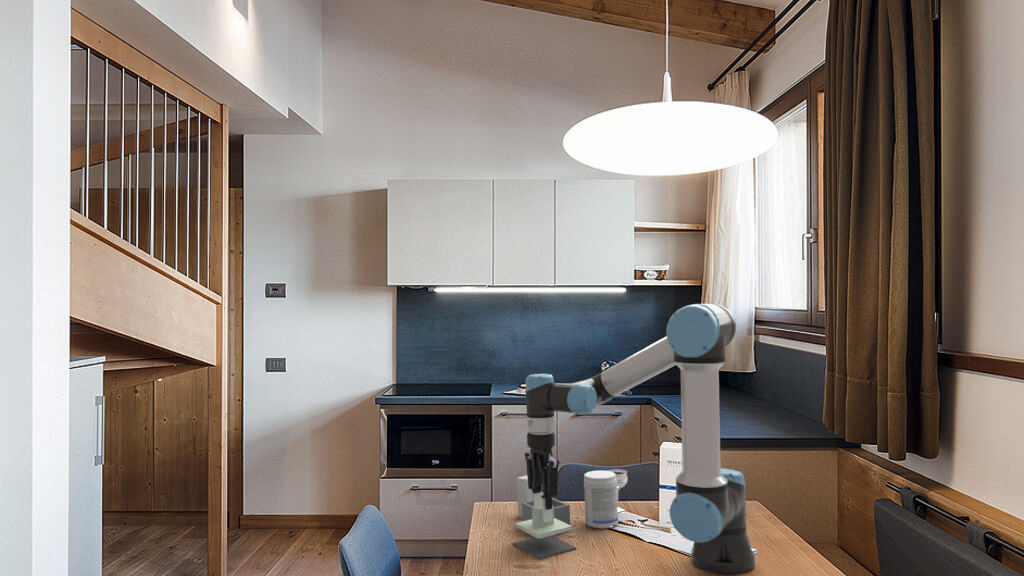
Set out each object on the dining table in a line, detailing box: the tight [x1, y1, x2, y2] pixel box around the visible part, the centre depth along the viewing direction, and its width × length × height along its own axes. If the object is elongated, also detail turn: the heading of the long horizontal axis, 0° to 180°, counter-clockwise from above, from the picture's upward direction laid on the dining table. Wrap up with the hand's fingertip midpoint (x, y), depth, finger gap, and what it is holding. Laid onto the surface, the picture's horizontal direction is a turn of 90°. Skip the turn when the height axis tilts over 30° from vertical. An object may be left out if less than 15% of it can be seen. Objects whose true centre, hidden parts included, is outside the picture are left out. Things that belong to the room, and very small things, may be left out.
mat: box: [512, 535, 577, 560], centre depth 186 cm, size 13×12×1 cm
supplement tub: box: [583, 470, 619, 530], centre depth 202 cm, size 10×10×15 cm
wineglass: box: [606, 468, 629, 512], centre depth 215 cm, size 7×7×12 cm
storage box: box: [521, 497, 571, 525], centre depth 201 cm, size 10×10×7 cm
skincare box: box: [516, 474, 534, 518], centre depth 212 cm, size 6×4×12 cm
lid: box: [514, 504, 573, 539], centre depth 186 cm, size 11×11×7 cm
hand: (543, 518), depth 186 cm, fingers closed on lid, 3 cm apart
